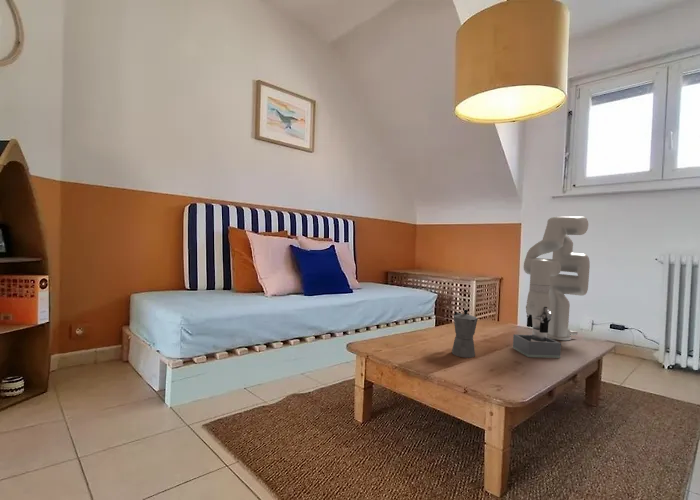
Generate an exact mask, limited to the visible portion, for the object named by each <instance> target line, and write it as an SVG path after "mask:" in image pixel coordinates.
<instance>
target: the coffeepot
mask: <svg viewBox="0 0 700 500" xmlns="http://www.w3.org/2000/svg"><path fill="white" fill-rule="evenodd" d="M468 311H469V310H468V309H465V308H464V309H463V313H462V312H461V313H460V312H458V311H456V312H454V314H453V323H454V324H453V326H454V332H455V337H454V341H453V345H452V350H451V353H452V355H453V356H456V357H460V358H466V359H467V358H468V359H471V358H474V357H475V356H476V350H475V343H474V342H475V341H474V335H475V333H476V328H477V322H478V318H477V316H473V315H471V314H468Z"/></svg>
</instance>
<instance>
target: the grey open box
mask: <svg viewBox="0 0 700 500" xmlns="http://www.w3.org/2000/svg"><path fill="white" fill-rule="evenodd" d="M512 337H513V338H512V349H514V350H515V351H517V352H519V353H520V354H523V355H524V356H526V357H527V358H545V359H546V358H549V359H550V358H551V359H561V350H562V348H561V347H562V343H561V342H559V341H557V340H556V339H550V338H548V337H546V339H547V340H546V341H547V342H531V337H532V334H514V333H513V335H512Z"/></svg>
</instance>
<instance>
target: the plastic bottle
mask: <svg viewBox="0 0 700 500" xmlns="http://www.w3.org/2000/svg"><path fill="white" fill-rule="evenodd" d="M542 315H546V313H545V312H543V314H542ZM544 318H545V317H543V319H544ZM540 322H541V320H540V316H539V317H536V316H534V315H532V327H531V328H532V331H531V332H532V333H531V335H532V337H531V342H547V341H546V340H547V339H546V333H541V332H540ZM541 323H542V322H541Z"/></svg>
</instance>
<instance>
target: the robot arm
mask: <svg viewBox="0 0 700 500" xmlns="http://www.w3.org/2000/svg"><path fill="white" fill-rule="evenodd" d="M588 229H589V220H588V218H587V217H585V216H573V215H572V216H553V217H549V219H547V223H546V226H545V229H544V233H543V237H542V239H541V240H540V241H538V242H537V243H535V244H534V245H532V246H531V247H530V248H529V249H528V250H527V252H526V256H525V259H524V262H523V271H524V273H525V274H527V275H529V290H528V294H527V297H526V299H527V300H526V305H525V312H526V327H527V328H532V315H534V316H536V317H539V316H540V320H541V322H542V323H541V322H540V332H541V333H546V337H548V338H550V339H553V340H555V341H557V340H558V341H571V340H572V337H571V336H573V335H575V336H576V335H578V333H579V332H578V331H577V330H572V329H569V323H570V321H569V320H570V301H569V298H567V296H566V295H572V296H585V295H586V294H587V293H588V291H589V281H590V279H589V278H590V263H591V262H590V257H589V256H588V255H587V254H585V253H580V252H573V251H574V249H573V248H574V242H573V240H572V238H571V237H570V236H583V235H585V234H586V233H587V231H588ZM549 253H552V257H551V258H541V257H540V258H539V256H543V255H545V254H546V255H547V254H549ZM561 272H564V273H574V274H573V275H572V274H564V273H561ZM575 273H576V274H577V275H575ZM543 312H545V313H546V315H542V314H543ZM543 317H545V318H544V319H543Z"/></svg>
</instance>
